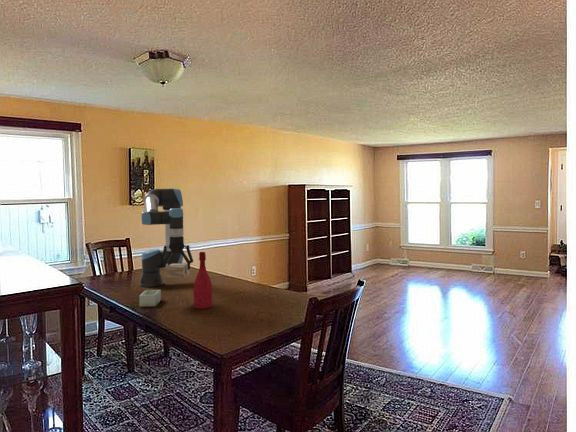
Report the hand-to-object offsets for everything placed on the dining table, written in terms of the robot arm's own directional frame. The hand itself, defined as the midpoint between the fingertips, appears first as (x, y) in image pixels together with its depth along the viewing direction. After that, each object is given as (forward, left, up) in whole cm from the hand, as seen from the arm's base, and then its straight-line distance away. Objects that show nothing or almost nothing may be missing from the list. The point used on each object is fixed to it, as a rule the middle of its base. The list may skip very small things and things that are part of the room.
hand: (177, 275), depth 239 cm
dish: (0, -15, -15) cm, 21 cm away
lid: (0, 0, -1) cm, 1 cm away
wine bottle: (+11, +16, -16) cm, 25 cm away
